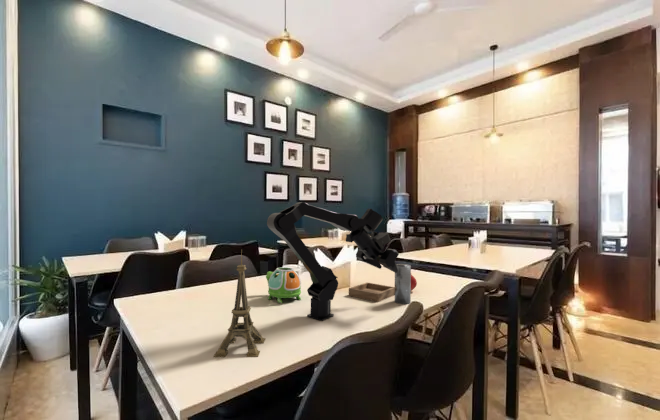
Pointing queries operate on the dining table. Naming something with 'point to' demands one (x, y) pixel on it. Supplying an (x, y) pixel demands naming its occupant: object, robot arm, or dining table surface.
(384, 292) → the tray
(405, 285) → the tin
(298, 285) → the turtle holder
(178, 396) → the dining table surface
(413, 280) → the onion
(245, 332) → the eiffel tower
